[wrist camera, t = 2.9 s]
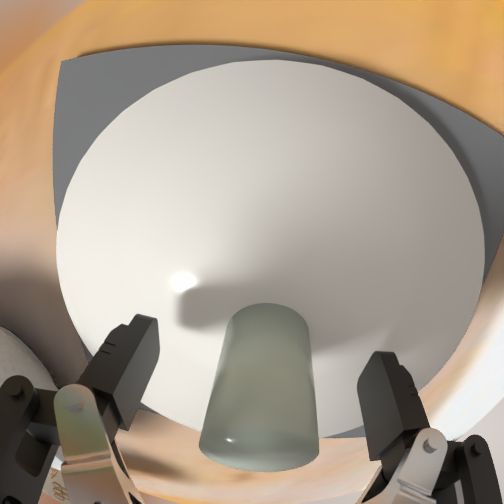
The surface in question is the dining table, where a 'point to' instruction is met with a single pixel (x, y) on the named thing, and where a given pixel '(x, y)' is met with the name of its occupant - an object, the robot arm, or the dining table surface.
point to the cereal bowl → (25, 370)
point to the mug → (56, 486)
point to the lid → (271, 250)
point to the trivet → (206, 56)
